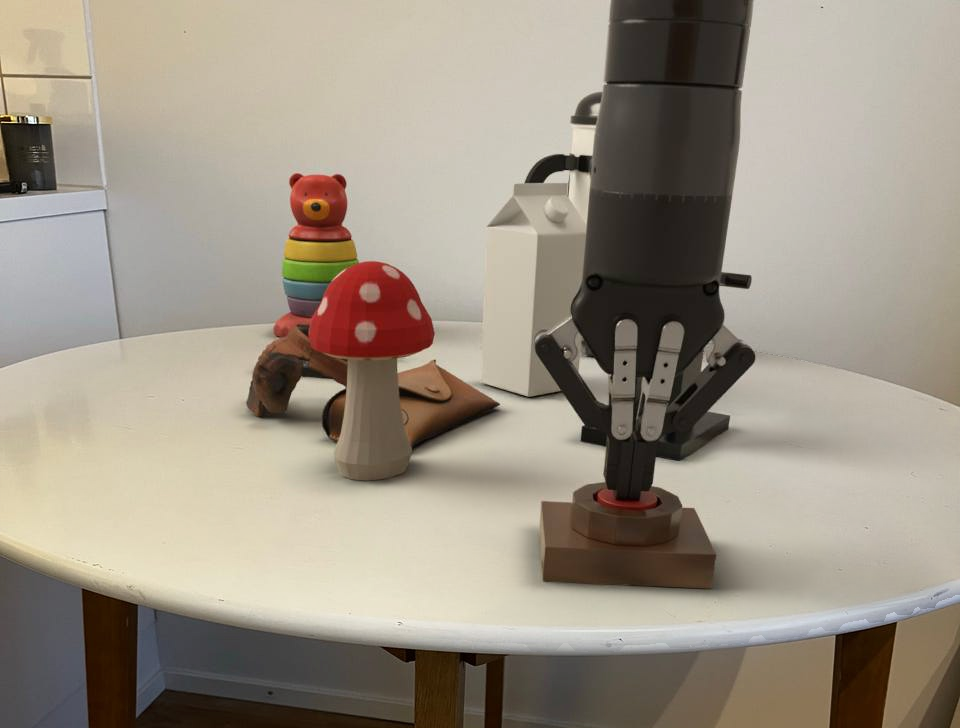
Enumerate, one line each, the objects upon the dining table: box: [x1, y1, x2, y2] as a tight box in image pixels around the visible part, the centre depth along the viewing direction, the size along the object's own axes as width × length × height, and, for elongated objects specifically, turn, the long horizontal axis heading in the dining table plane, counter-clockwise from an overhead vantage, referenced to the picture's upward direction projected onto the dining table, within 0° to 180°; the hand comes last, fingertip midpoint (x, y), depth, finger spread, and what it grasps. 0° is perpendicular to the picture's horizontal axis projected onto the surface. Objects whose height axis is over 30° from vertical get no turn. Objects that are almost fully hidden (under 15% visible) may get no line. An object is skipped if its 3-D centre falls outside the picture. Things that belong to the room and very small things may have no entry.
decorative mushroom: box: [308, 260, 436, 481], centre depth 74 cm, size 10×9×15 cm
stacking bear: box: [273, 172, 360, 338], centre depth 121 cm, size 11×10×18 cm
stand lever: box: [719, 271, 753, 290], centre depth 88 cm, size 14×5×2 cm, turn 149°
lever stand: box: [580, 348, 731, 461], centre depth 86 cm, size 12×9×16 cm
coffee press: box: [524, 91, 602, 357], centre depth 116 cm, size 17×16×30 cm
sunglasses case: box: [321, 359, 501, 449], centre depth 89 cm, size 18×7×7 cm
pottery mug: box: [245, 326, 348, 418], centre depth 90 cm, size 12×10×8 cm
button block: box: [538, 481, 717, 590], centre depth 63 cm, size 10×8×4 cm
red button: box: [597, 488, 657, 511], centre depth 62 cm, size 4×4×2 cm
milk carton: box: [480, 182, 587, 398], centre depth 99 cm, size 7×7×19 cm
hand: (626, 495), depth 62 cm, fingers closed
